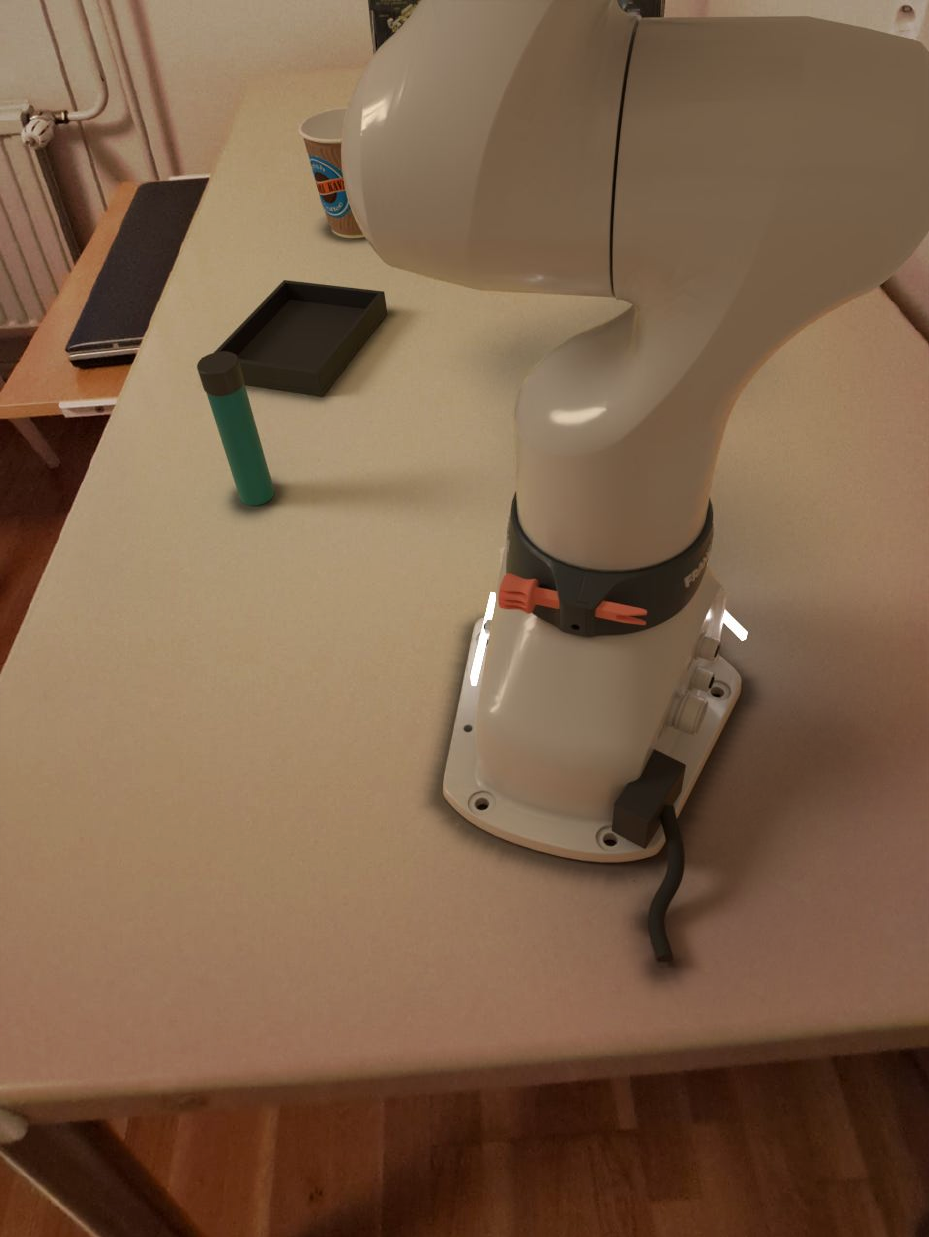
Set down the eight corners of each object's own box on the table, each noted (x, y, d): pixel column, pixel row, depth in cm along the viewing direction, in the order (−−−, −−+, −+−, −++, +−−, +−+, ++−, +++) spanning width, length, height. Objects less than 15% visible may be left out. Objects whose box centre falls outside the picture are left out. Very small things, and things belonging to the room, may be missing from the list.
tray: (322, 396, 91) (317, 373, 89) (215, 380, 94) (208, 357, 92) (387, 313, 101) (384, 291, 99) (288, 301, 104) (283, 279, 102)
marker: (264, 509, 79) (225, 376, 70) (232, 503, 80) (188, 370, 71) (282, 486, 81) (246, 353, 72) (250, 480, 82) (210, 348, 73)
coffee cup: (301, 230, 116) (280, 127, 107) (363, 200, 121) (348, 100, 112) (354, 253, 111) (337, 147, 102) (418, 221, 115) (406, 117, 107)
